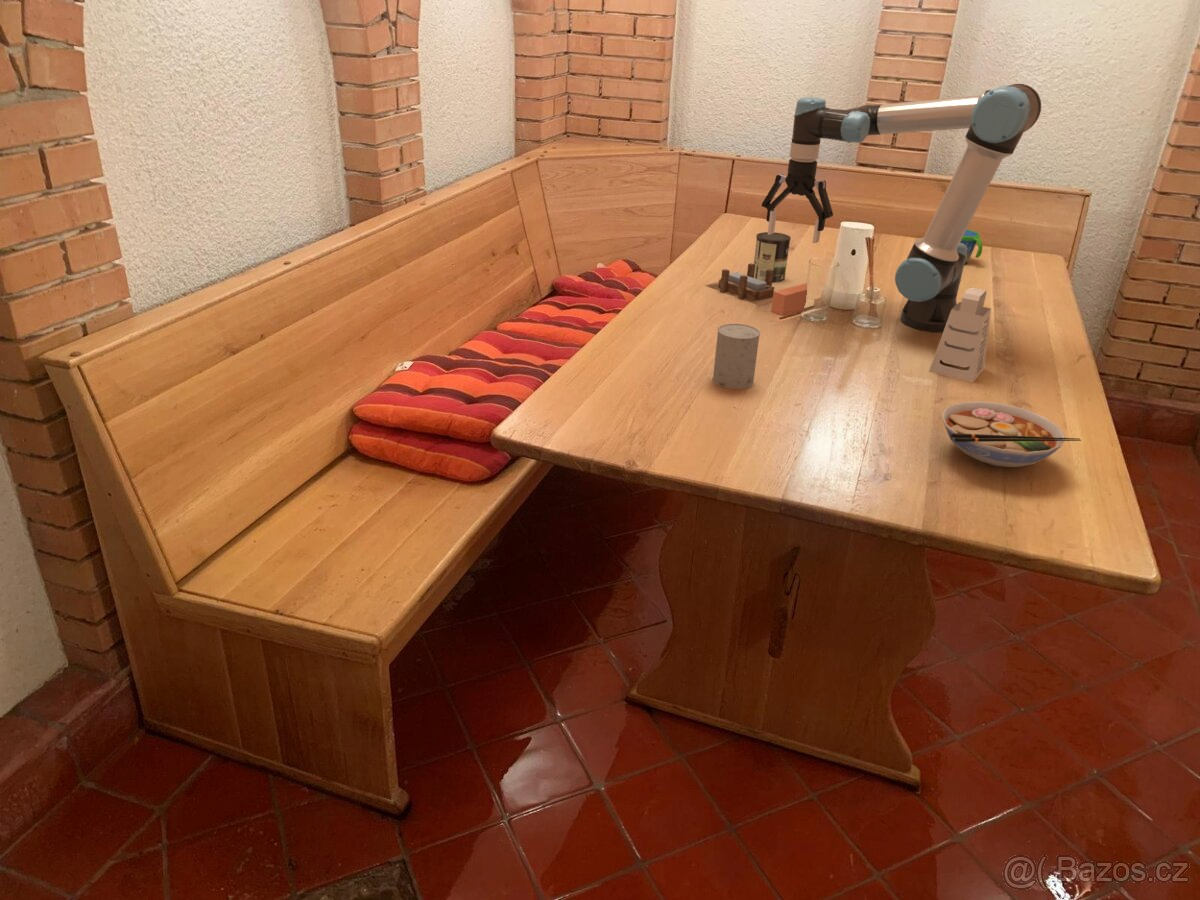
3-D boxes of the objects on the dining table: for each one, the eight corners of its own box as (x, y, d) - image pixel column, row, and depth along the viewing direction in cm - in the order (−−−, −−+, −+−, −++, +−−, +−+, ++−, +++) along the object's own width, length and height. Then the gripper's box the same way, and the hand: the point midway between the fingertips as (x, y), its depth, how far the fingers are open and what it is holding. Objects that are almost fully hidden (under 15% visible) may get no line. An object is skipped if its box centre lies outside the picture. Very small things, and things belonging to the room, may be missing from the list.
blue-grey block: (765, 295, 265) (767, 282, 263) (756, 298, 263) (757, 284, 261) (735, 285, 273) (736, 272, 271) (726, 287, 271) (727, 274, 269)
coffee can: (781, 276, 287) (787, 232, 280) (787, 286, 278) (793, 241, 271) (749, 275, 287) (754, 231, 280) (753, 285, 278) (758, 239, 271)
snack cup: (985, 266, 307) (993, 236, 302) (963, 269, 302) (970, 239, 298) (950, 254, 319) (956, 225, 314) (928, 257, 314) (934, 228, 310)
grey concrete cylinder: (721, 390, 206) (727, 339, 200) (706, 374, 214) (711, 324, 209) (760, 387, 209) (767, 337, 203) (743, 371, 217) (749, 322, 211)
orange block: (813, 310, 259) (817, 286, 256) (781, 319, 251) (785, 295, 248) (802, 306, 262) (805, 283, 259) (770, 315, 254) (773, 291, 250)
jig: (787, 301, 265) (791, 276, 261) (758, 309, 257) (761, 283, 254) (732, 282, 280) (735, 257, 276) (703, 289, 272) (705, 264, 269)
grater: (984, 369, 224) (1003, 290, 215) (972, 382, 216) (993, 301, 207) (941, 358, 229) (958, 282, 220) (928, 371, 221) (946, 292, 212)
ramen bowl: (1028, 433, 193) (1038, 398, 189) (1082, 487, 172) (1095, 449, 168) (912, 431, 191) (920, 395, 188) (953, 485, 171) (963, 447, 167)
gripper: (852, 163, 240) (840, 243, 250) (767, 151, 253) (758, 227, 263) (842, 167, 235) (829, 248, 245) (755, 154, 247) (746, 232, 257)
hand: (792, 238), depth 254 cm, fingers open, 13 cm apart
